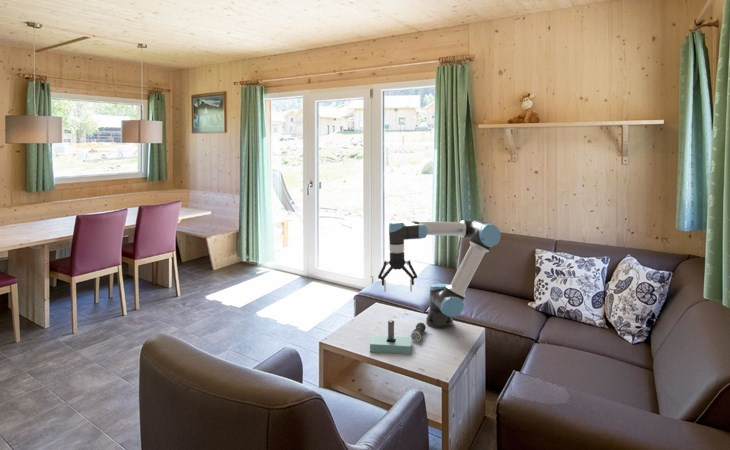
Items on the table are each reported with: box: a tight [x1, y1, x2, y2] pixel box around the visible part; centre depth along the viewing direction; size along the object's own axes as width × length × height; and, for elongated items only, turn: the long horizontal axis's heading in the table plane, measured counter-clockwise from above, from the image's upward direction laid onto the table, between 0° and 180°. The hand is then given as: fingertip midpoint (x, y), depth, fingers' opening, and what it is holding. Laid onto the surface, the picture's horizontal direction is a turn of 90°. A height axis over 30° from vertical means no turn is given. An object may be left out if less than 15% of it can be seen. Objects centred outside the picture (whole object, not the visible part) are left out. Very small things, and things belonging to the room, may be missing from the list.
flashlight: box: [410, 322, 427, 342], centre depth 237 cm, size 15×5×5 cm, turn 162°
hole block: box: [369, 334, 413, 355], centre depth 222 cm, size 20×11×4 cm, turn 82°
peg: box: [387, 319, 395, 343], centre depth 221 cm, size 3×3×14 cm
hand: (398, 291), depth 232 cm, fingers open, 13 cm apart
